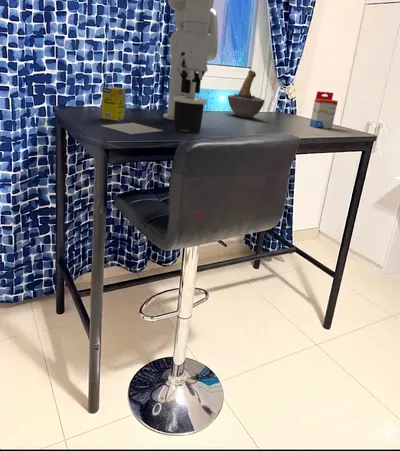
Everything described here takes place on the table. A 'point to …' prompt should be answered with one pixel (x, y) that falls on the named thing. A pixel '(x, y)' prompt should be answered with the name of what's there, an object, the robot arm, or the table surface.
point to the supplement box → (113, 103)
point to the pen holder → (188, 117)
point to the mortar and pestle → (246, 99)
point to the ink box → (323, 110)
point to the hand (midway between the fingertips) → (190, 92)
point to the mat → (131, 128)
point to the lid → (190, 96)
